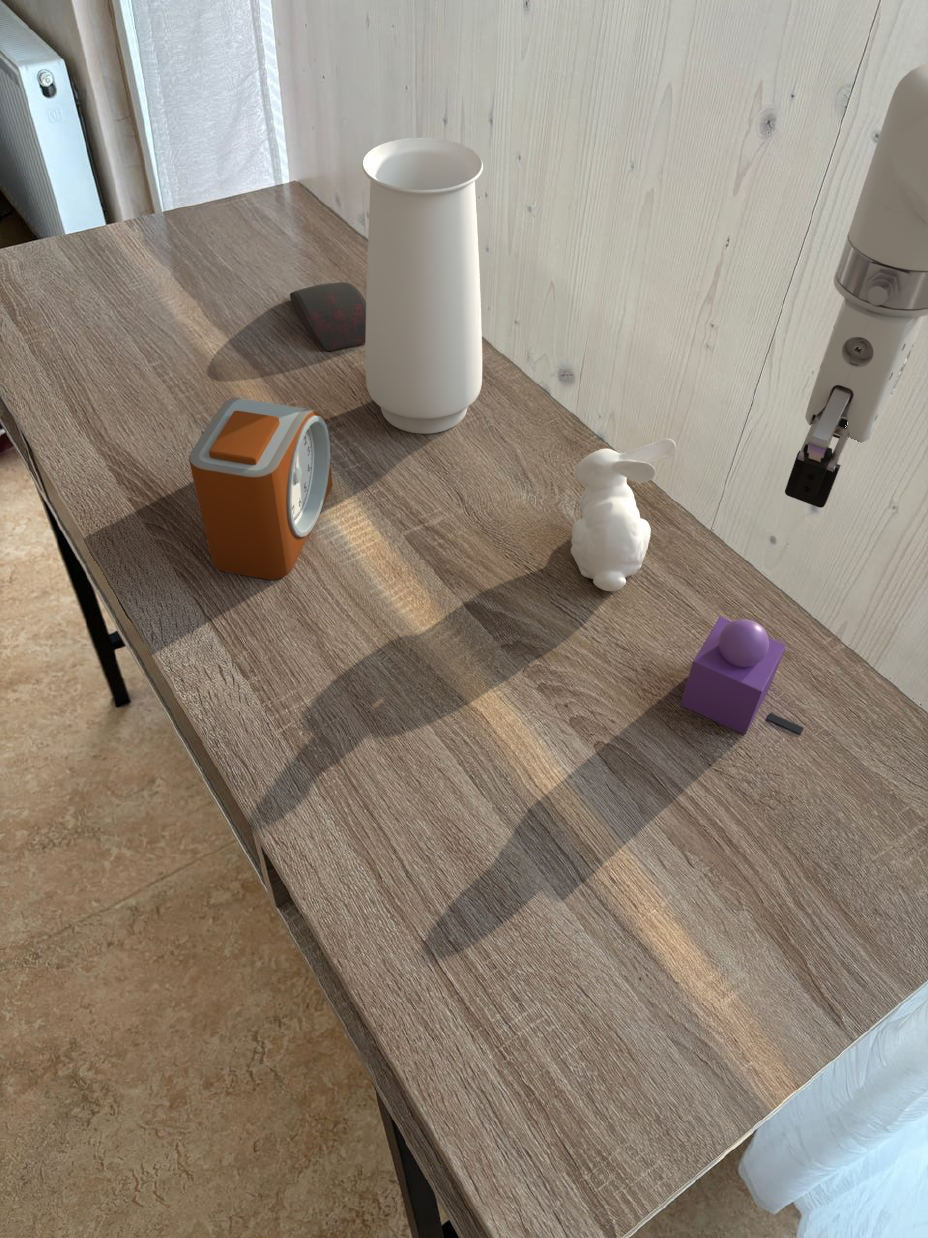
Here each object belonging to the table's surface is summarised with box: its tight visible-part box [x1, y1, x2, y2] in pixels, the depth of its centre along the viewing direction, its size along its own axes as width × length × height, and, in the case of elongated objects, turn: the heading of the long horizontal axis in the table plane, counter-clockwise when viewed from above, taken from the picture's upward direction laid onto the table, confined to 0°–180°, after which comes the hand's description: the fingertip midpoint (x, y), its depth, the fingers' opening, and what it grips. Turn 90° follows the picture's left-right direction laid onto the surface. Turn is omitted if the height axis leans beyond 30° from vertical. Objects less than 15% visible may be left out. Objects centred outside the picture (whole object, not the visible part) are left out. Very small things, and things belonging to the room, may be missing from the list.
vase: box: [361, 137, 484, 435], centre depth 106 cm, size 13×13×28 cm
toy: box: [680, 616, 787, 736], centre depth 85 cm, size 6×6×9 cm
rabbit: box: [570, 437, 677, 592], centre depth 96 cm, size 12×9×12 cm
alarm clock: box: [188, 397, 334, 581], centre depth 97 cm, size 15×8×14 cm, turn 167°
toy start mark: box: [766, 712, 805, 735], centre depth 87 cm, size 3×1×1 cm, turn 59°
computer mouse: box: [289, 281, 366, 352], centre depth 127 cm, size 8×14×4 cm, turn 23°
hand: (823, 466), depth 82 cm, fingers open, 8 cm apart
